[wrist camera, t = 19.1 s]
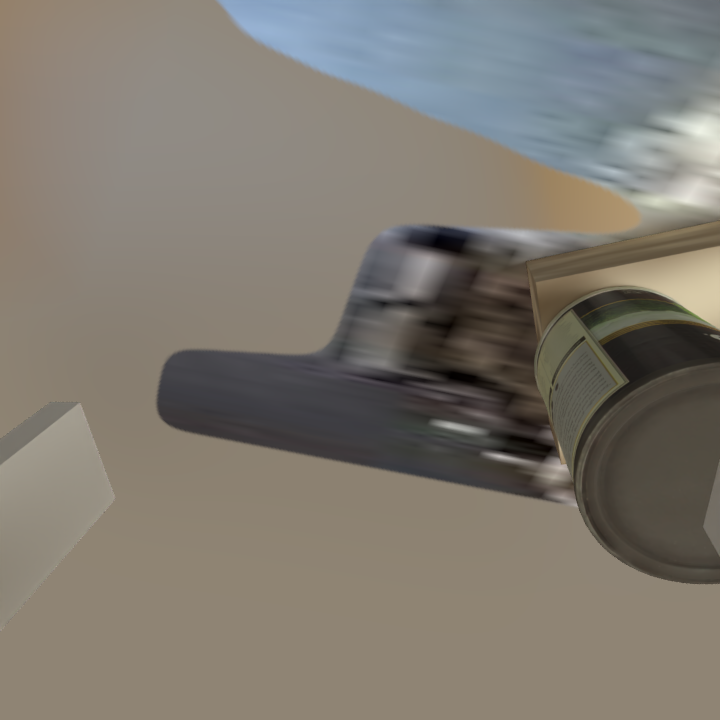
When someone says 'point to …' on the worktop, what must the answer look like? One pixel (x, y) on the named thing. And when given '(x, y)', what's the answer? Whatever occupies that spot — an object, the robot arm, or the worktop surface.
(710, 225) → the birch block
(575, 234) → the worktop surface
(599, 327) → the coffee can
